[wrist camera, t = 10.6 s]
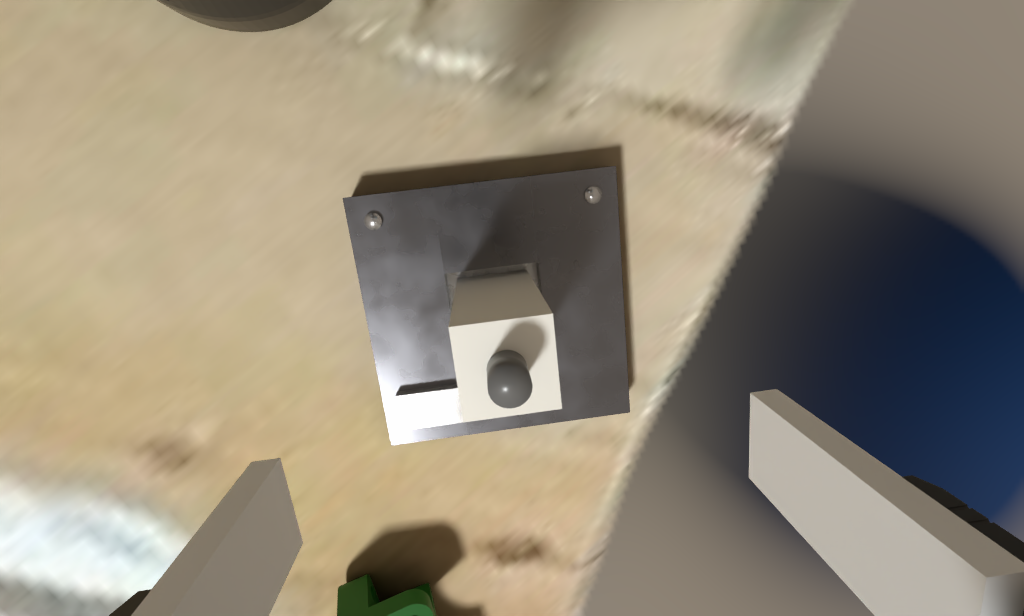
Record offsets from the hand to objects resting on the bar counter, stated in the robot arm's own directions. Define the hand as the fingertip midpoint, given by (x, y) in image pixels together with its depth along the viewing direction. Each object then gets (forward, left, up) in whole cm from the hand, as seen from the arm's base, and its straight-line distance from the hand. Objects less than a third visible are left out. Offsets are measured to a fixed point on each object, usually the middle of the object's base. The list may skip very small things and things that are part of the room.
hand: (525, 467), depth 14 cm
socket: (0, 0, -19) cm, 19 cm away
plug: (0, 0, -19) cm, 19 cm away
